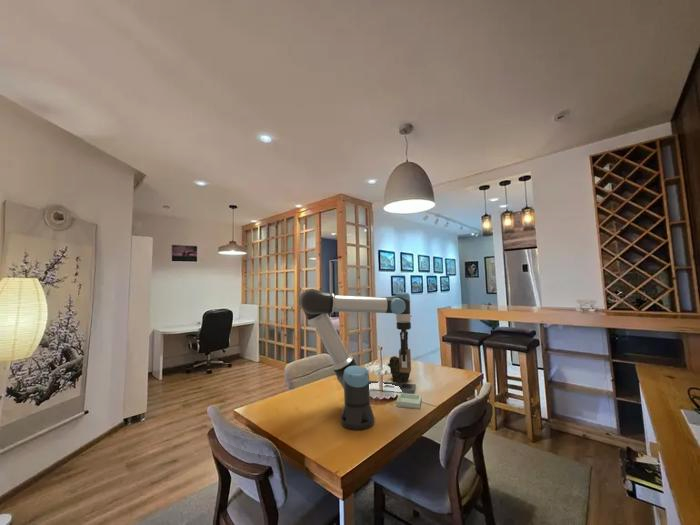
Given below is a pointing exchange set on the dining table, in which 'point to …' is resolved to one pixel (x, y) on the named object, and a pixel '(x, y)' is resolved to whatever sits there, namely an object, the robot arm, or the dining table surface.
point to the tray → (409, 401)
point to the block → (408, 369)
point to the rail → (401, 386)
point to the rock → (397, 371)
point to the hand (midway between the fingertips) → (405, 365)
